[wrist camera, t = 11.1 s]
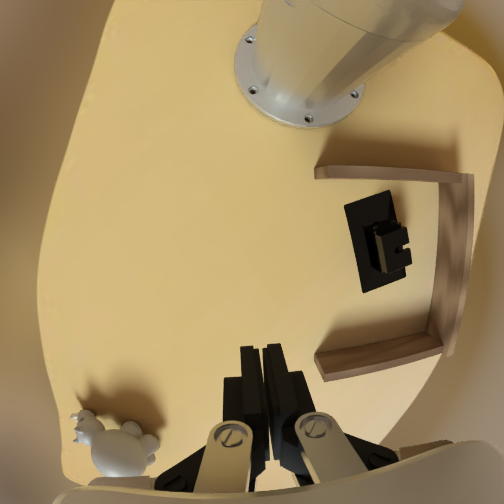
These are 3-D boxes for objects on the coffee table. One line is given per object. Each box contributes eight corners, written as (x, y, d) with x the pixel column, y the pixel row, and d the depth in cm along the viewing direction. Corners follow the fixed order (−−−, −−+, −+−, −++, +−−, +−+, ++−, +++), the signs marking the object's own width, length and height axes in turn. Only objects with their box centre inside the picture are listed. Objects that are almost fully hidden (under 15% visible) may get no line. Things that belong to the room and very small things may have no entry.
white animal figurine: (98, 383, 32) (53, 407, 24) (169, 439, 29) (131, 477, 21) (92, 414, 33) (53, 438, 25) (156, 466, 30) (122, 499, 22)
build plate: (409, 283, 30) (432, 297, 25) (354, 306, 30) (372, 325, 25) (389, 174, 27) (414, 173, 22) (327, 192, 27) (345, 193, 22)
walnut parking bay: (314, 168, 26) (332, 164, 21) (444, 174, 26) (473, 174, 22) (314, 361, 30) (327, 388, 25) (430, 336, 31) (452, 354, 26)
